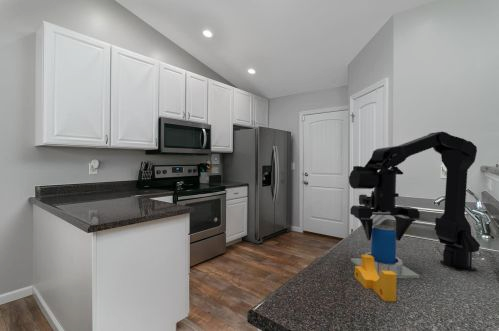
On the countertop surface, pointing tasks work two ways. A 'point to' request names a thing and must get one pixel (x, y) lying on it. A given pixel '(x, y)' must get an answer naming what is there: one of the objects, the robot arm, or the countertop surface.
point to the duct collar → (390, 267)
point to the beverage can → (383, 244)
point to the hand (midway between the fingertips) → (383, 240)
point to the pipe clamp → (376, 279)
